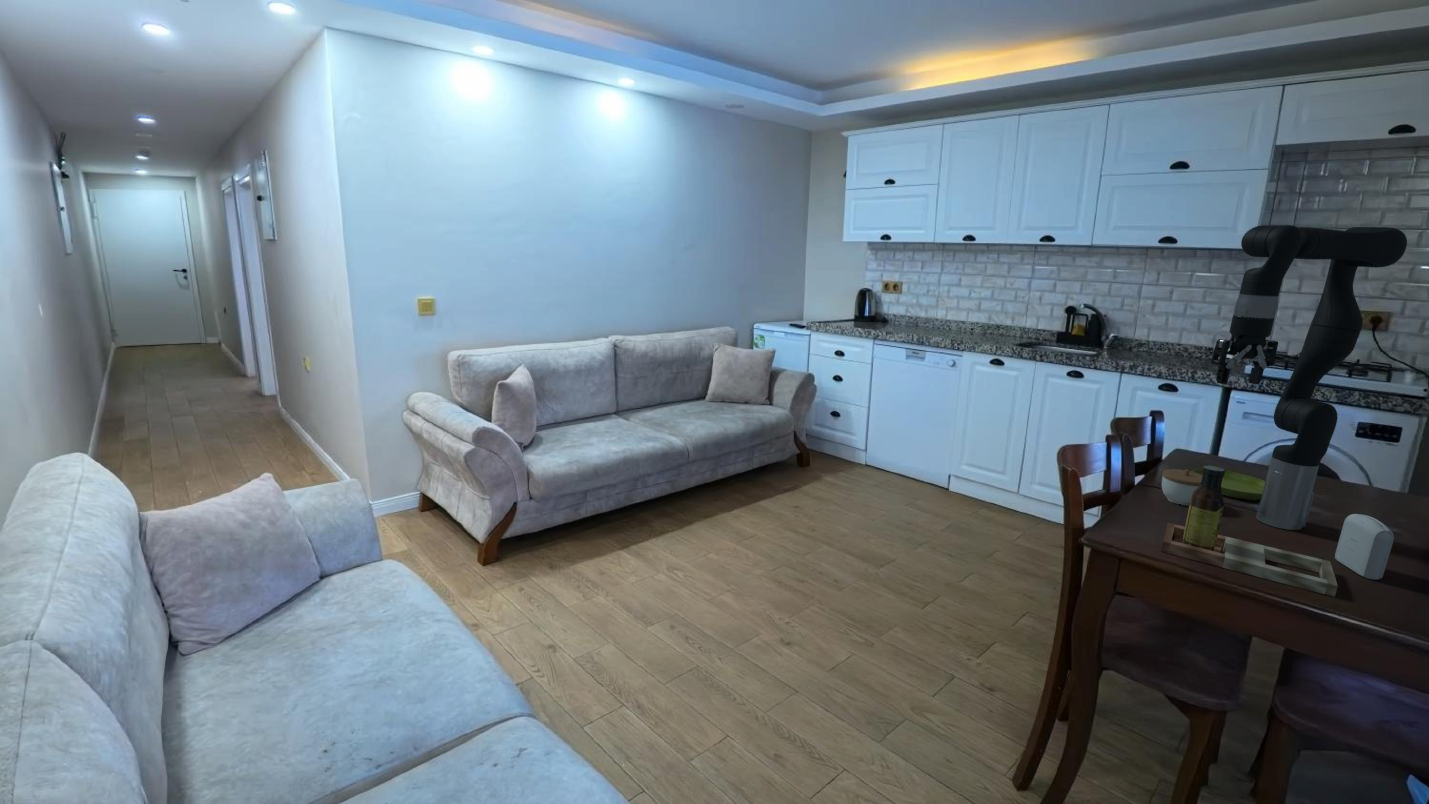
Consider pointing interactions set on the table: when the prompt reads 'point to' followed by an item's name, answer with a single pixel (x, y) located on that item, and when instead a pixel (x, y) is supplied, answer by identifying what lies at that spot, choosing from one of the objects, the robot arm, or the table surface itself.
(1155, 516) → the table surface
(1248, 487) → the saucer
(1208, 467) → the sauce bottle
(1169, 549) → the birch rail plate
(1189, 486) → the lidded jar
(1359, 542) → the photo printer
